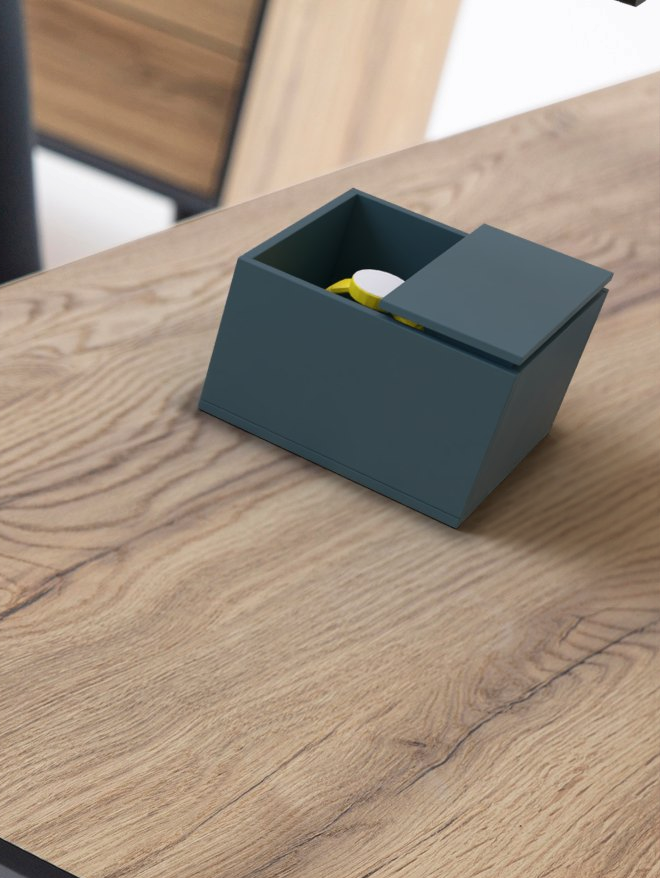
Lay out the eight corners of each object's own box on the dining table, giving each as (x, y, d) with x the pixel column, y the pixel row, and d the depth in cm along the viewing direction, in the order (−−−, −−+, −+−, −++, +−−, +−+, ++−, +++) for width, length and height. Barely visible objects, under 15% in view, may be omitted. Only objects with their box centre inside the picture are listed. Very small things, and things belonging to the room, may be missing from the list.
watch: (272, 380, 81) (307, 264, 78) (301, 363, 83) (336, 248, 79) (383, 435, 79) (425, 317, 75) (411, 415, 81) (452, 300, 77)
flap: (611, 280, 78) (614, 272, 78) (519, 366, 70) (522, 357, 69) (481, 230, 80) (483, 222, 80) (377, 307, 72) (380, 299, 72)
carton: (549, 432, 83) (609, 289, 78) (456, 529, 74) (517, 376, 70) (309, 327, 87) (352, 187, 83) (196, 408, 79) (237, 257, 74)
